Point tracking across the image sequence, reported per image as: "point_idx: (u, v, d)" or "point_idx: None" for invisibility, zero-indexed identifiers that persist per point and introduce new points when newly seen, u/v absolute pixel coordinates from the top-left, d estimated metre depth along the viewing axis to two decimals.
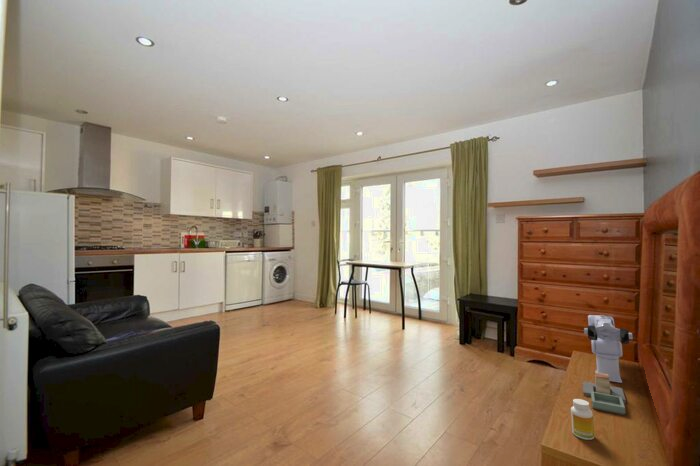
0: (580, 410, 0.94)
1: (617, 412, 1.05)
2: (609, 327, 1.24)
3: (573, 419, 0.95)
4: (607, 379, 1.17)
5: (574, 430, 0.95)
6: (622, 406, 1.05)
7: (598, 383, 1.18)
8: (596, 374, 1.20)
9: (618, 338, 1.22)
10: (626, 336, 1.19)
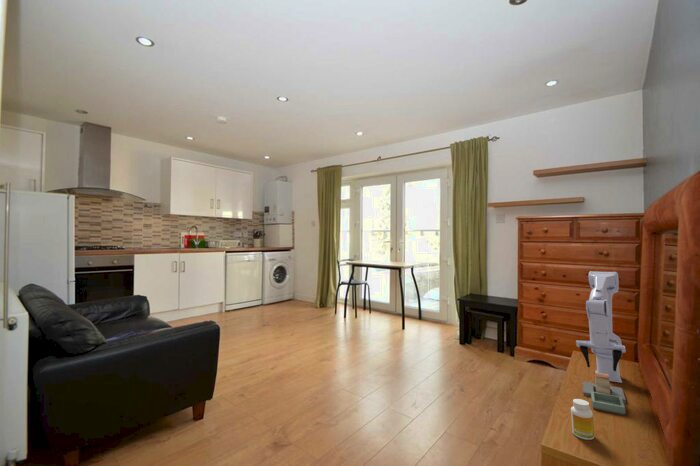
0: (580, 410, 0.94)
1: (617, 412, 1.05)
2: None
3: (573, 419, 0.95)
4: (607, 379, 1.17)
5: (574, 430, 0.95)
6: (622, 406, 1.05)
7: (598, 383, 1.18)
8: (596, 374, 1.20)
9: None
10: None
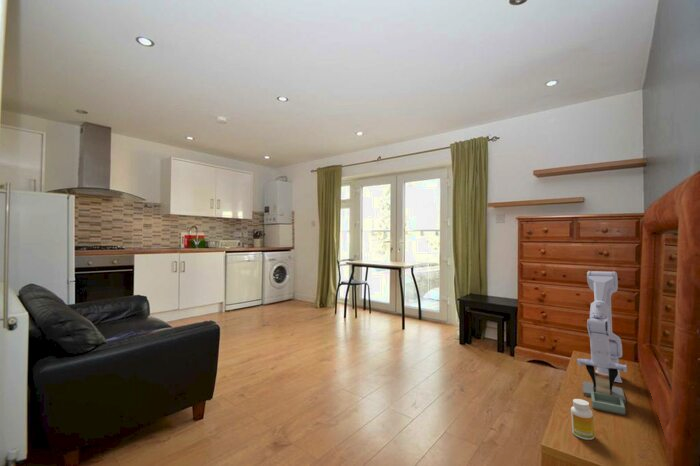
0: (580, 410, 0.94)
1: (617, 412, 1.05)
2: None
3: (573, 419, 0.95)
4: (607, 379, 1.17)
5: (574, 430, 0.95)
6: (622, 406, 1.05)
7: (598, 383, 1.18)
8: (596, 374, 1.20)
9: None
10: None
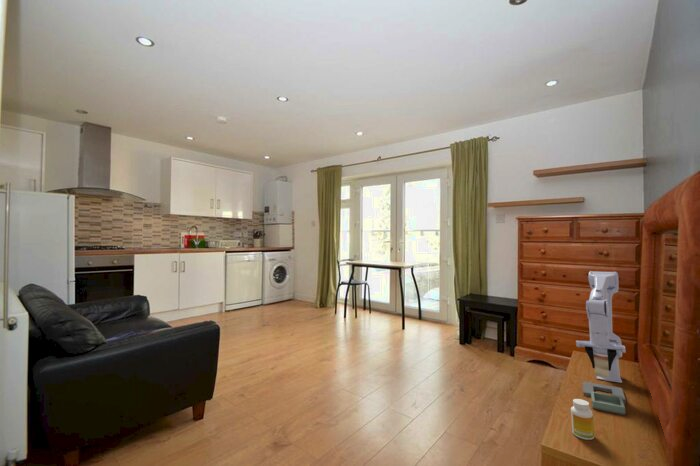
0: (580, 410, 0.94)
1: (617, 412, 1.05)
2: None
3: (573, 419, 0.95)
4: (606, 360, 1.17)
5: (574, 430, 0.95)
6: (622, 406, 1.05)
7: (597, 364, 1.18)
8: (595, 355, 1.20)
9: None
10: None
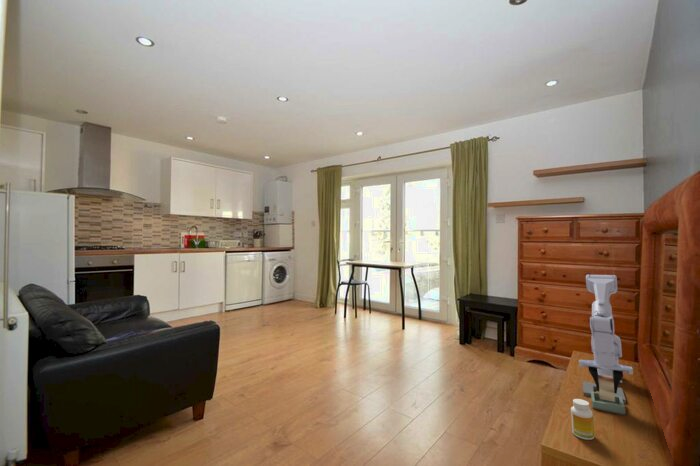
0: (580, 410, 0.94)
1: (617, 412, 1.05)
2: None
3: (573, 419, 0.95)
4: (611, 382, 1.08)
5: (574, 430, 0.95)
6: (622, 406, 1.05)
7: (601, 386, 1.10)
8: (599, 376, 1.11)
9: None
10: None
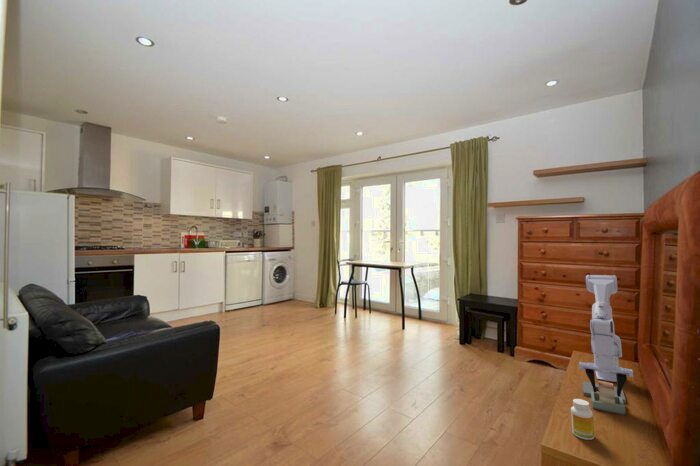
0: (580, 410, 0.94)
1: (617, 412, 1.05)
2: None
3: (573, 419, 0.95)
4: (612, 389, 1.08)
5: (574, 430, 0.95)
6: (622, 406, 1.05)
7: (602, 393, 1.10)
8: (600, 383, 1.11)
9: None
10: None
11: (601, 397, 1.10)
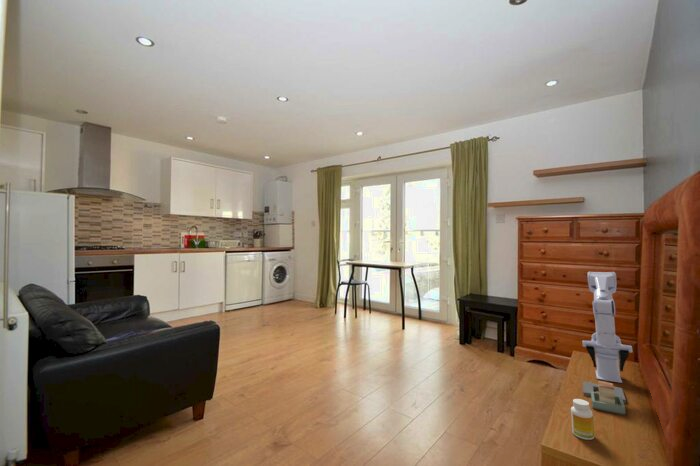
0: (580, 410, 0.94)
1: (617, 412, 1.05)
2: None
3: (573, 419, 0.95)
4: (612, 389, 1.08)
5: (574, 430, 0.95)
6: (622, 406, 1.05)
7: (602, 393, 1.10)
8: (600, 383, 1.11)
9: None
10: None
11: (601, 397, 1.10)
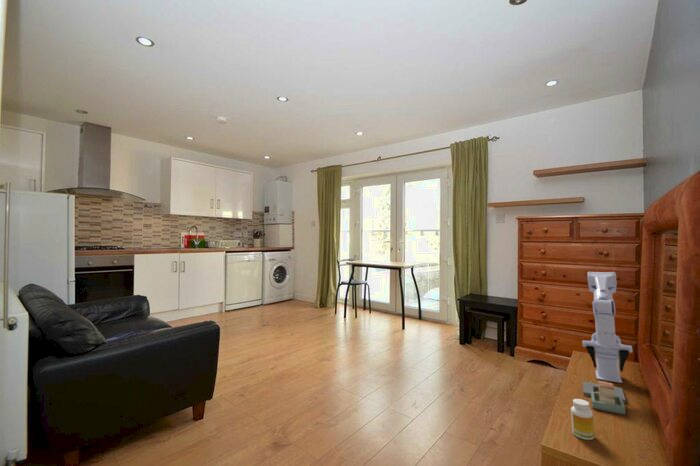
0: (580, 410, 0.94)
1: (617, 412, 1.05)
2: None
3: (573, 419, 0.95)
4: (612, 389, 1.08)
5: (574, 430, 0.95)
6: (622, 406, 1.05)
7: (602, 393, 1.10)
8: (600, 383, 1.11)
9: None
10: None
11: (601, 397, 1.10)
